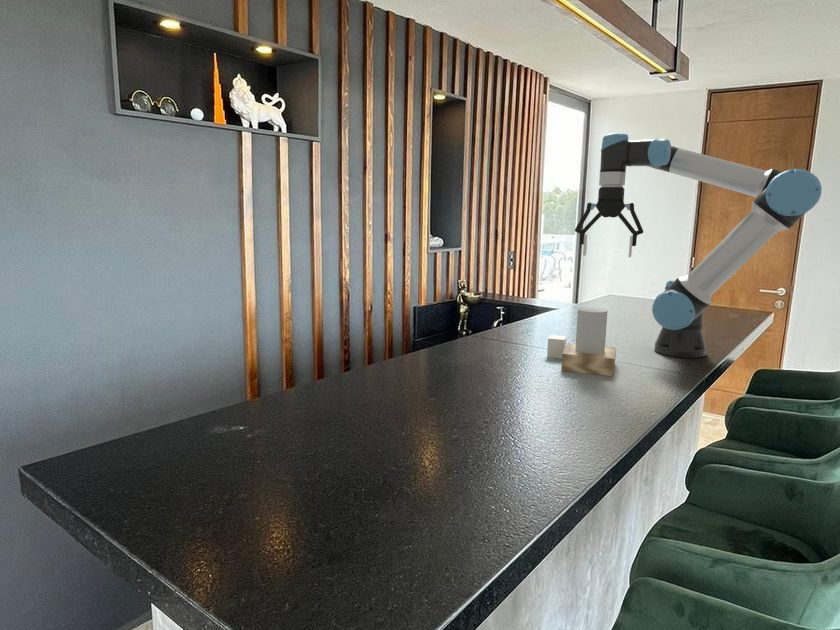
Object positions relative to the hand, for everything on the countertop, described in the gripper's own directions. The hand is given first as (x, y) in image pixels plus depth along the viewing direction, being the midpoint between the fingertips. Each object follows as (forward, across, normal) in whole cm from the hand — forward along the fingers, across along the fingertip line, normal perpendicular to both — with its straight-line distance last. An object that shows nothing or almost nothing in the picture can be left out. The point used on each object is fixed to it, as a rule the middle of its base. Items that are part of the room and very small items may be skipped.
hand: (606, 256), depth 182 cm
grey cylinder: (+26, +2, +21) cm, 33 cm away
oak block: (+31, +2, +21) cm, 37 cm away
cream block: (+31, +12, +12) cm, 35 cm away
